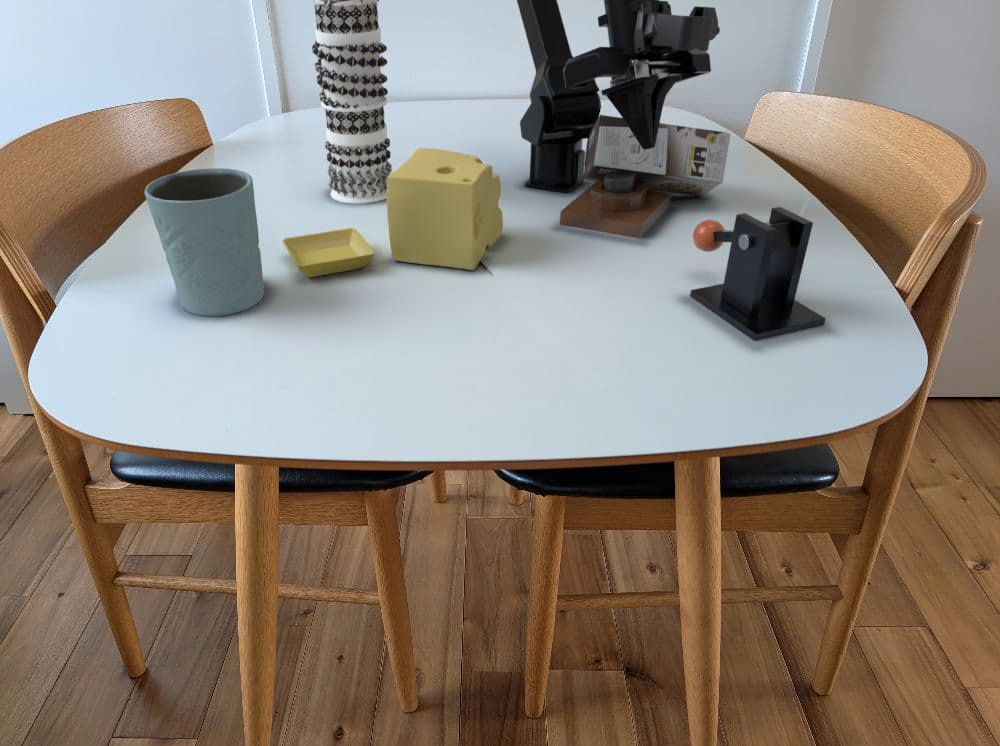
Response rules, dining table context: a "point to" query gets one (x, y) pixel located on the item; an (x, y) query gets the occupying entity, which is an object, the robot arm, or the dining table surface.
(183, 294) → the grey green cup
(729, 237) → the lever
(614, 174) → the button
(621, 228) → the button block
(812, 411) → the dining table surface
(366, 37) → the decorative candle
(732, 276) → the bracket
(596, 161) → the coffee box
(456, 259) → the cheese
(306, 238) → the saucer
